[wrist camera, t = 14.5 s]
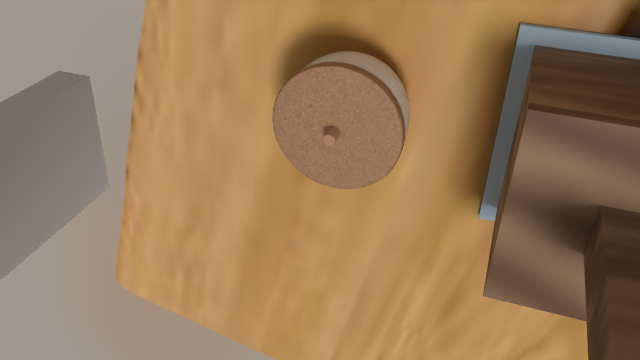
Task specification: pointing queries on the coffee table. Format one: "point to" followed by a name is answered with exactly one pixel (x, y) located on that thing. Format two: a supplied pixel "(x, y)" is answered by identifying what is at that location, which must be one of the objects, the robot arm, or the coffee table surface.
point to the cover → (574, 199)
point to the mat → (517, 82)
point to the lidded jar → (342, 119)
